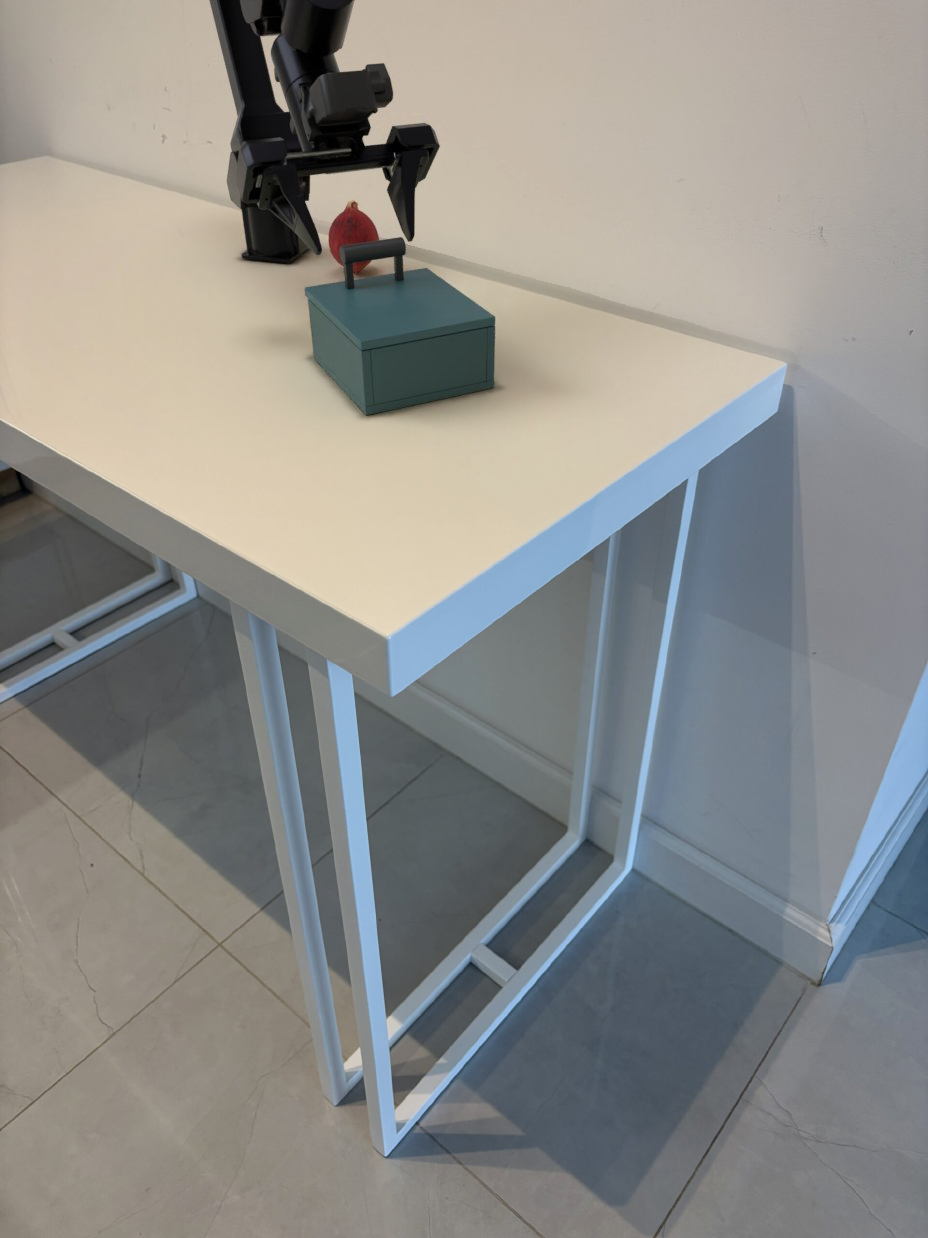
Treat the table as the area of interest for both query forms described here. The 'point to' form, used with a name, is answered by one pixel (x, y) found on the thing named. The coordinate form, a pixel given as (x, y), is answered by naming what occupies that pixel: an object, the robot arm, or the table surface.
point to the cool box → (404, 365)
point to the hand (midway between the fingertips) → (366, 245)
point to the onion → (351, 232)
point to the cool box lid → (394, 300)
